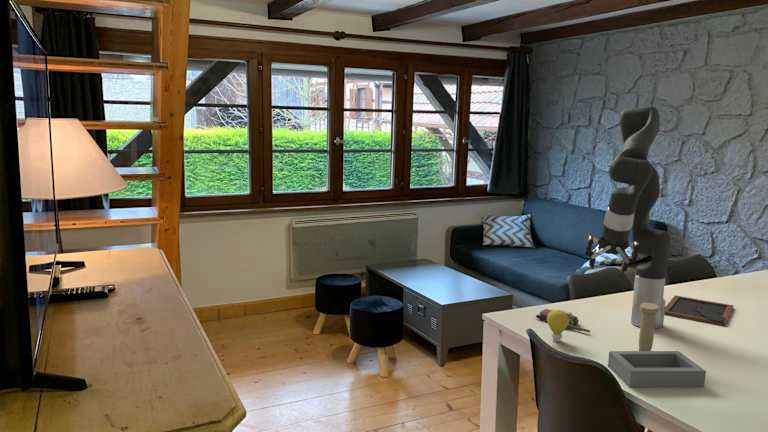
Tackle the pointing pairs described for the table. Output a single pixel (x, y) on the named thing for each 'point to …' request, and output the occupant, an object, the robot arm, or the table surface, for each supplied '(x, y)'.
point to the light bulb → (557, 323)
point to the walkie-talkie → (572, 319)
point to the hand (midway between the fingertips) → (606, 269)
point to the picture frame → (699, 310)
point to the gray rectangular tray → (656, 369)
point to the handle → (647, 326)
